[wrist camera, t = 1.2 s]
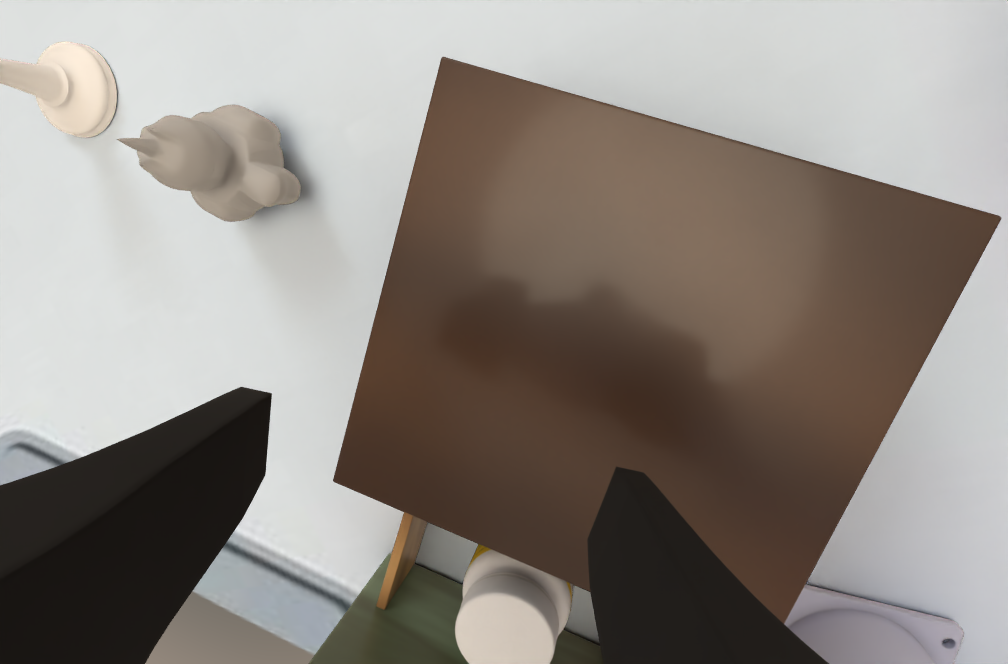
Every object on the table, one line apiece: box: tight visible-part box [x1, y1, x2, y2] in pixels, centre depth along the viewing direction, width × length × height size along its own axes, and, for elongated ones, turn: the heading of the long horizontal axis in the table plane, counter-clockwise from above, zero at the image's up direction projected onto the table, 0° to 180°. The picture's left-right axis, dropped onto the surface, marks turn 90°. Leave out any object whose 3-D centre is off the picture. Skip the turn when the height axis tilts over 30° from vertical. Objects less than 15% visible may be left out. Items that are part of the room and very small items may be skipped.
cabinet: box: [333, 57, 1001, 623], centre depth 21 cm, size 14×15×11 cm
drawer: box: [309, 512, 603, 664], centre depth 23 cm, size 15×15×10 cm
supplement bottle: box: [455, 544, 574, 664], centre depth 25 cm, size 5×5×8 cm
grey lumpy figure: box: [117, 105, 301, 222], centre depth 24 cm, size 5×7×8 cm
